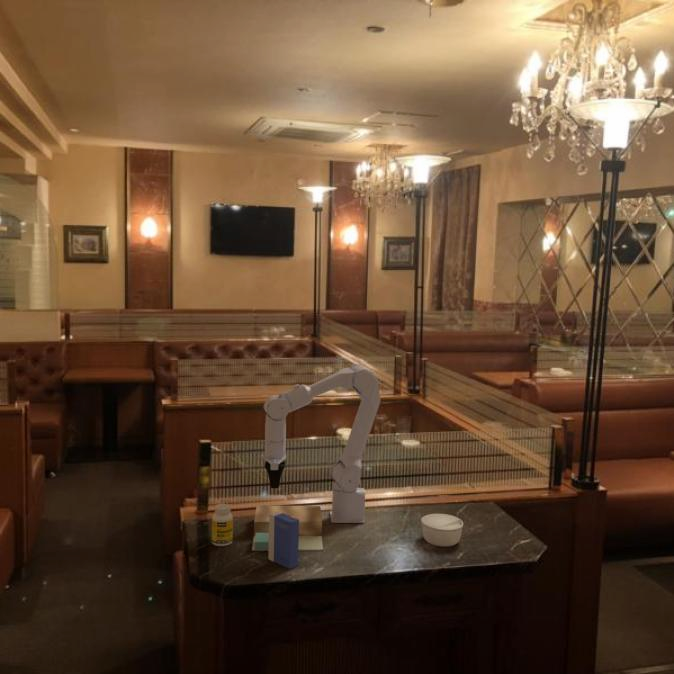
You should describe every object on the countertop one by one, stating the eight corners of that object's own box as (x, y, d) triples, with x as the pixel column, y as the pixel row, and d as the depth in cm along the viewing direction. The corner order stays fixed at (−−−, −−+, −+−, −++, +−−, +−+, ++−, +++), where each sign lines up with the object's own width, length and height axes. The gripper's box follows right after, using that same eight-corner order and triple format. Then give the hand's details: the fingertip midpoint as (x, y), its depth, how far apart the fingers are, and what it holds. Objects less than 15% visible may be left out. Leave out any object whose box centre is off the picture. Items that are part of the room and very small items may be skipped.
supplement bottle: (215, 548, 175) (215, 511, 174) (208, 540, 180) (209, 504, 179) (235, 544, 178) (235, 508, 176) (228, 536, 182) (229, 501, 181)
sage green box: (290, 542, 174) (290, 549, 175) (290, 532, 180) (290, 540, 181) (254, 542, 174) (254, 549, 174) (256, 532, 180) (255, 540, 180)
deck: (320, 519, 196) (320, 505, 196) (321, 536, 184) (322, 521, 184) (256, 519, 195) (256, 505, 195) (254, 536, 183) (254, 521, 183)
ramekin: (459, 551, 177) (460, 531, 177) (416, 545, 180) (417, 525, 180) (464, 535, 188) (465, 516, 187) (424, 529, 191) (425, 511, 190)
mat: (321, 537, 184) (321, 536, 184) (322, 550, 175) (322, 549, 175) (253, 536, 183) (254, 535, 183) (251, 550, 174) (251, 549, 174)
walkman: (298, 565, 166) (299, 518, 165) (289, 569, 164) (290, 521, 163) (276, 555, 172) (277, 509, 170) (268, 559, 169) (268, 512, 168)
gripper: (262, 433, 197) (261, 479, 198) (259, 446, 182) (258, 496, 184) (286, 433, 197) (286, 479, 198) (286, 447, 183) (285, 496, 184)
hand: (274, 487), depth 191 cm, fingers closed
